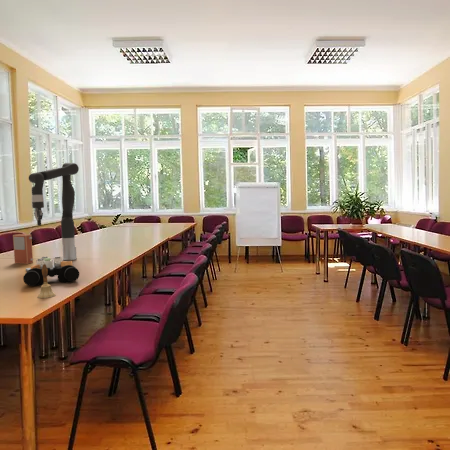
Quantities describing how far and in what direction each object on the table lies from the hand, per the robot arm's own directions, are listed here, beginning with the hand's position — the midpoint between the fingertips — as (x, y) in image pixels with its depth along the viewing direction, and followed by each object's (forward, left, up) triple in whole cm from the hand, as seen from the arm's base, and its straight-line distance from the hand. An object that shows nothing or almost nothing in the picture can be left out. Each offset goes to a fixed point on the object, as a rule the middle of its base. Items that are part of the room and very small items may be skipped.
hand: (39, 225), depth 288 cm
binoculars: (+13, +65, -29) cm, 73 cm away
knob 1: (+10, +27, -27) cm, 40 cm away
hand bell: (+26, +97, -29) cm, 105 cm away
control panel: (+6, -24, -29) cm, 38 cm away
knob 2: (-6, +27, -27) cm, 39 cm away
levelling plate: (+2, +21, -29) cm, 36 cm away
